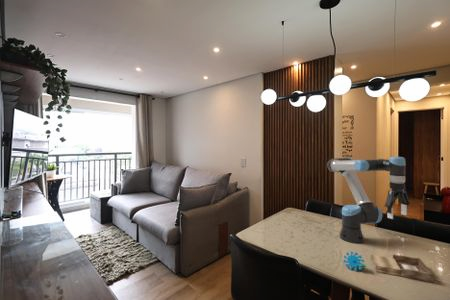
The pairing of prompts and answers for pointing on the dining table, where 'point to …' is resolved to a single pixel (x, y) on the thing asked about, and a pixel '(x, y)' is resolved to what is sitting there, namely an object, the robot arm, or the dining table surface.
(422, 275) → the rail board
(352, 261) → the gear
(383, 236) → the dining table surface
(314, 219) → the dining table surface
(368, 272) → the dining table surface
